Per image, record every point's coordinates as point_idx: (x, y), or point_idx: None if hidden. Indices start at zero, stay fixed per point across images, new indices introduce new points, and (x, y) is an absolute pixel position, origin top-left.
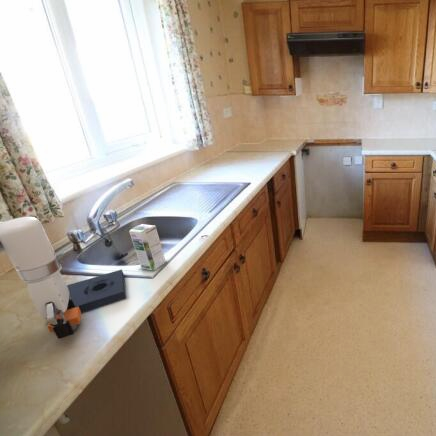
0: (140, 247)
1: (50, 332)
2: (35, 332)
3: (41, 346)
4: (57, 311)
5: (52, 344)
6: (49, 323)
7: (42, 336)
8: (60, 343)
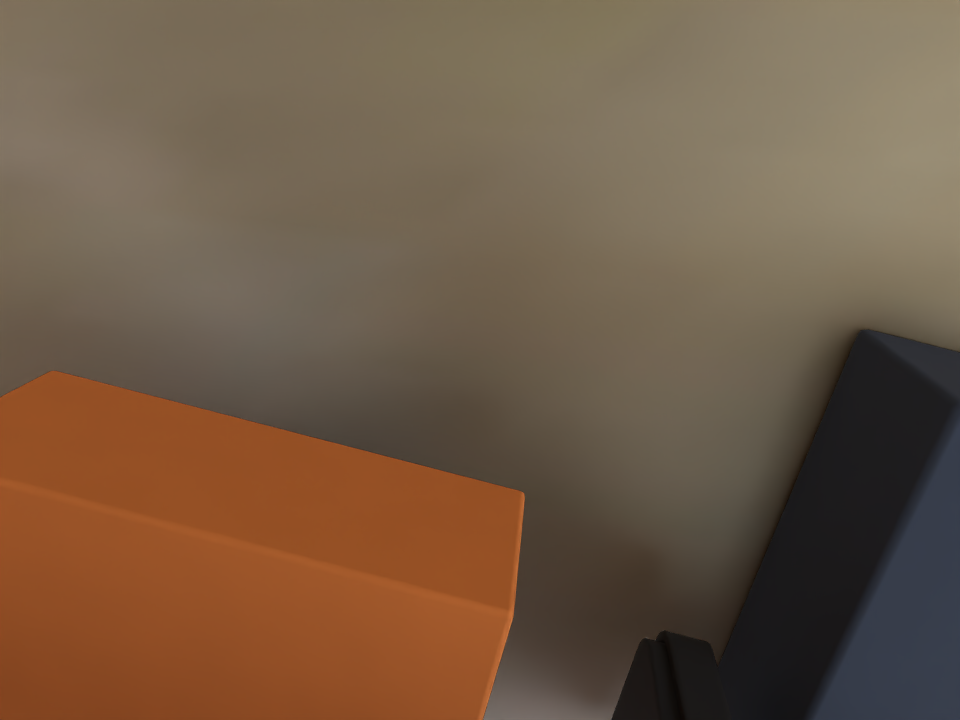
0: None
1: (36, 378)
2: (771, 55)
3: (144, 101)
4: (903, 637)
5: (74, 262)
6: (33, 525)
7: (480, 156)
8: (16, 364)
